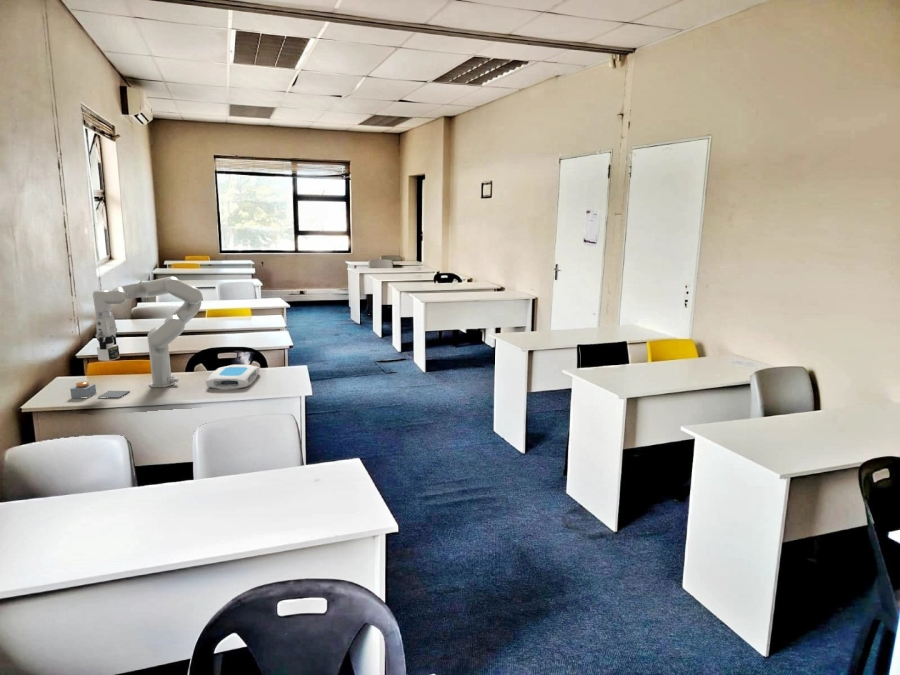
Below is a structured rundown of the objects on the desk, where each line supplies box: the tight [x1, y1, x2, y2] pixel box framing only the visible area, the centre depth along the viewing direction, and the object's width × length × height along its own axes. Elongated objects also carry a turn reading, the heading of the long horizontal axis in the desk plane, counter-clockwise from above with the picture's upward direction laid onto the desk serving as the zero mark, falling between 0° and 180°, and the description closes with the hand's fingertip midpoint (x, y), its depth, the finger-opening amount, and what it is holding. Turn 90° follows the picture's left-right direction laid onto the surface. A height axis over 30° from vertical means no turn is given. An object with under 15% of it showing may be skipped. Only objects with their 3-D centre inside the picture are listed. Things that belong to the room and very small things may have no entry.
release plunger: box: [75, 381, 90, 388], centre depth 304 cm, size 6×6×7 cm
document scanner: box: [205, 364, 260, 390], centre depth 331 cm, size 21×28×6 cm
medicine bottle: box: [96, 336, 121, 362], centre depth 308 cm, size 7×7×12 cm
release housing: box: [69, 383, 97, 399], centre depth 304 cm, size 8×8×5 cm
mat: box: [98, 390, 131, 399], centre depth 306 cm, size 11×10×1 cm
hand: (108, 347), depth 308 cm, fingers closed on medicine bottle, 8 cm apart
